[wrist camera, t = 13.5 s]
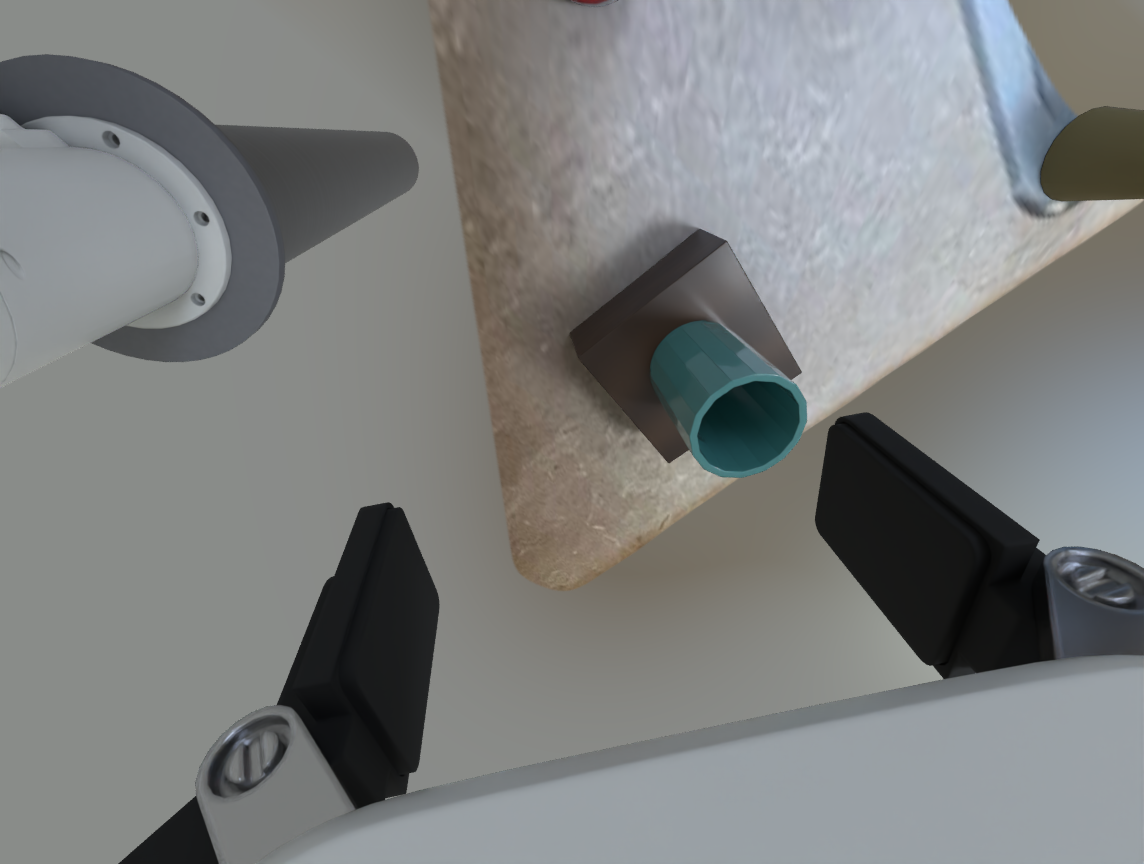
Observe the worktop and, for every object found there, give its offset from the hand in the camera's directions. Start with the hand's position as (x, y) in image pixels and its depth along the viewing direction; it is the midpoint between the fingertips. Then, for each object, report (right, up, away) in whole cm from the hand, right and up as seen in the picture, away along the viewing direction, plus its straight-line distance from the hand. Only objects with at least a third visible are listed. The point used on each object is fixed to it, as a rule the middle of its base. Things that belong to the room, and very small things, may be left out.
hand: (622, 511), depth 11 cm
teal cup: (+8, +6, +25) cm, 27 cm away
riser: (+7, +9, +29) cm, 31 cm away
